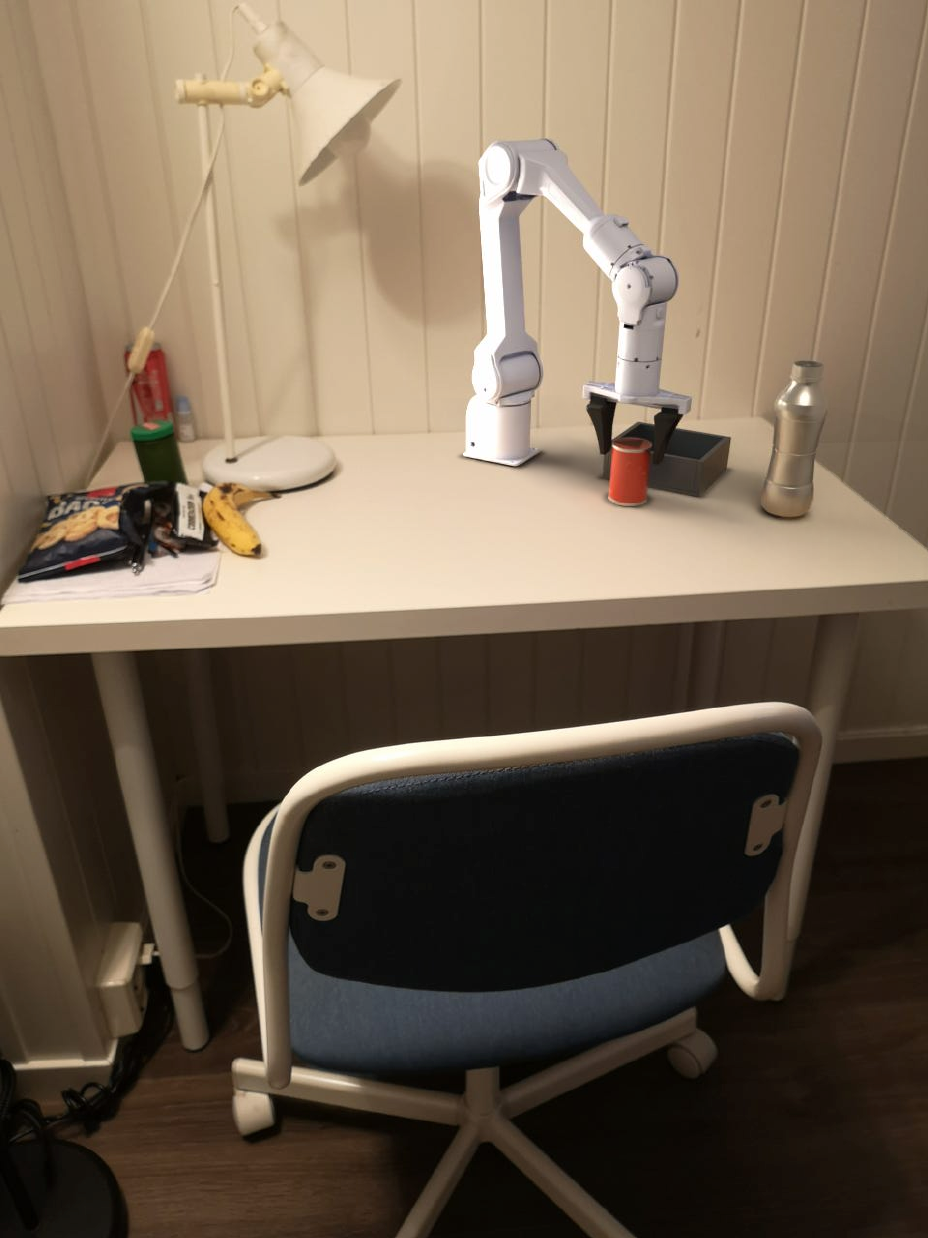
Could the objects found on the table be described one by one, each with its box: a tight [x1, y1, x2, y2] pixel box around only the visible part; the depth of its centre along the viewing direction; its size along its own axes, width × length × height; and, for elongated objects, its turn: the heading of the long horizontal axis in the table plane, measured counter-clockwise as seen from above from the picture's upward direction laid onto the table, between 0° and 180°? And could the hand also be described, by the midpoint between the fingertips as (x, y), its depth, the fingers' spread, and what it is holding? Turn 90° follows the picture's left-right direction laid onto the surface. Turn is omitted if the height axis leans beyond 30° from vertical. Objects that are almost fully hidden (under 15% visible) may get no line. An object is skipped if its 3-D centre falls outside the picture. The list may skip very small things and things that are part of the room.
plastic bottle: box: [760, 359, 829, 518], centre depth 126 cm, size 6×7×20 cm
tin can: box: [607, 437, 652, 507], centre depth 134 cm, size 5×5×8 cm
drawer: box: [601, 421, 732, 498], centre depth 143 cm, size 15×13×5 cm
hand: (631, 457), depth 133 cm, fingers open, 7 cm apart
